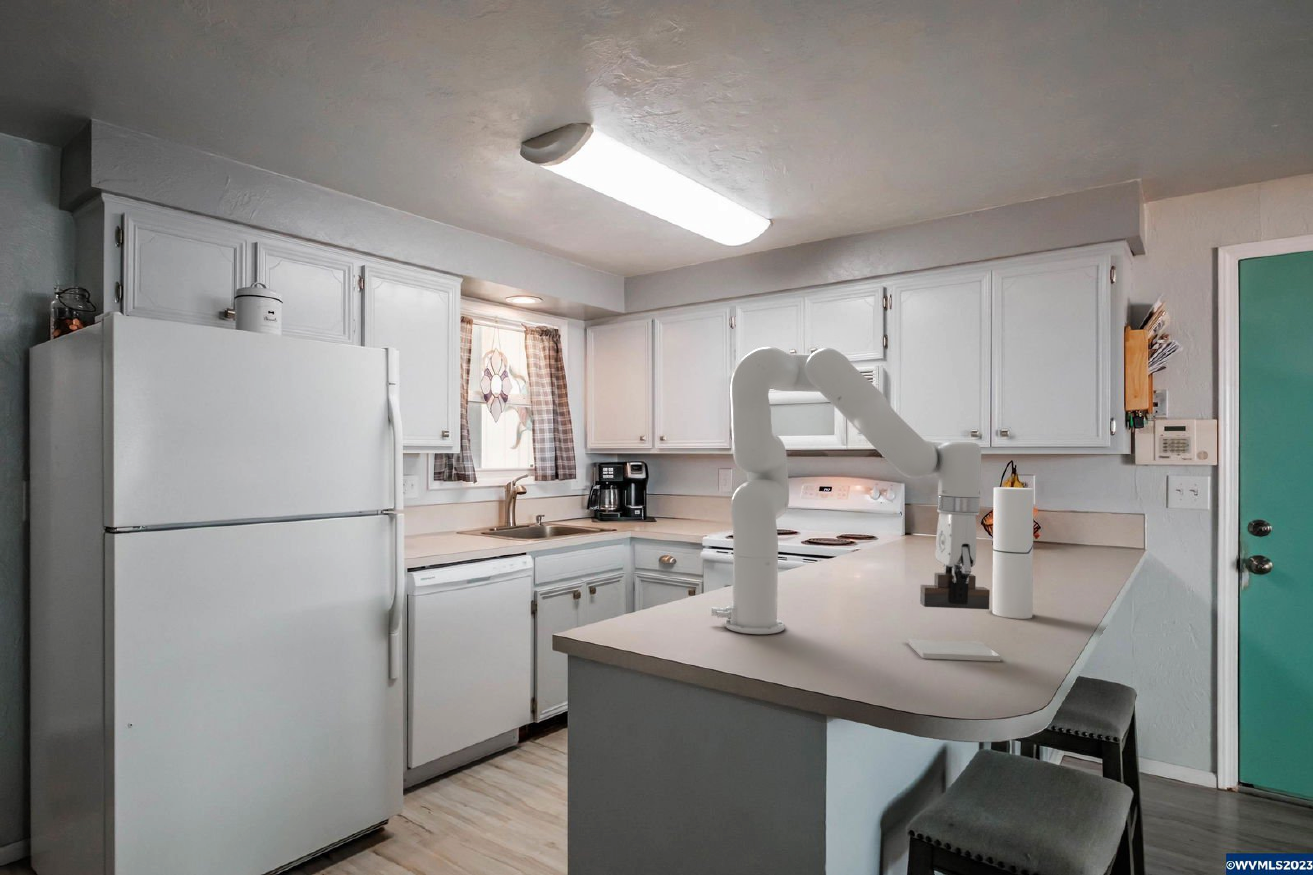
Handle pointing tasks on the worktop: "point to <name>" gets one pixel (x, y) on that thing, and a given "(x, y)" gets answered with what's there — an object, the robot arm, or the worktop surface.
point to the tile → (953, 650)
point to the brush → (941, 593)
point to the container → (1013, 552)
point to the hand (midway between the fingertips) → (955, 600)
